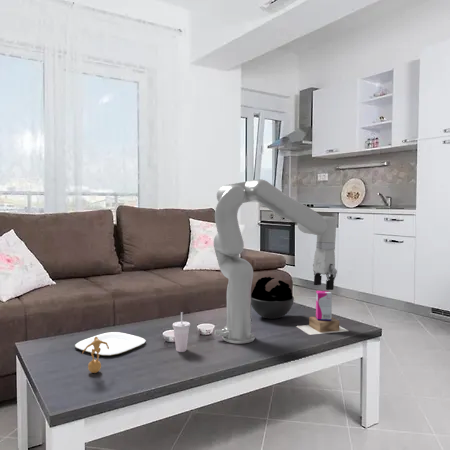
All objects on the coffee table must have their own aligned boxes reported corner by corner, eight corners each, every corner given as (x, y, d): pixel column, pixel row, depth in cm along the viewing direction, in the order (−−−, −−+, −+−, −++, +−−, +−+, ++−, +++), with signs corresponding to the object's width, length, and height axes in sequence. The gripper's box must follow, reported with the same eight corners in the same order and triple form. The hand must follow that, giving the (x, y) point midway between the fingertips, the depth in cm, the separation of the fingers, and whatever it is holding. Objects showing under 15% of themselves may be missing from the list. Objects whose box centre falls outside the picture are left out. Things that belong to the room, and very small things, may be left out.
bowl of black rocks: (247, 312, 211) (247, 273, 209) (288, 312, 212) (289, 273, 211) (252, 324, 191) (252, 282, 189) (297, 324, 192) (298, 281, 191)
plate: (109, 362, 149) (109, 357, 148) (67, 349, 160) (67, 344, 160) (152, 343, 167) (152, 339, 167) (112, 333, 178) (112, 329, 178)
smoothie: (173, 353, 155) (173, 314, 154) (171, 347, 161) (171, 310, 161) (191, 352, 157) (191, 313, 156) (188, 346, 163) (188, 309, 162)
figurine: (105, 367, 143) (105, 331, 142) (111, 374, 138) (111, 336, 137) (79, 373, 138) (79, 335, 137) (84, 379, 133) (84, 341, 132)
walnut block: (319, 332, 178) (320, 322, 178) (309, 326, 187) (309, 316, 187) (339, 330, 181) (339, 321, 181) (327, 324, 190) (328, 315, 189)
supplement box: (329, 317, 187) (329, 290, 186) (331, 320, 181) (332, 293, 180) (315, 316, 187) (316, 289, 186) (317, 320, 181) (317, 293, 180)
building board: (309, 336, 175) (309, 334, 175) (295, 327, 187) (295, 326, 187) (348, 332, 181) (348, 330, 181) (333, 324, 192) (333, 322, 192)
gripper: (307, 243, 189) (305, 283, 190) (328, 248, 172) (326, 292, 173) (322, 244, 191) (320, 283, 192) (345, 248, 175) (342, 291, 176)
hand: (323, 287), depth 183 cm, fingers open, 9 cm apart
